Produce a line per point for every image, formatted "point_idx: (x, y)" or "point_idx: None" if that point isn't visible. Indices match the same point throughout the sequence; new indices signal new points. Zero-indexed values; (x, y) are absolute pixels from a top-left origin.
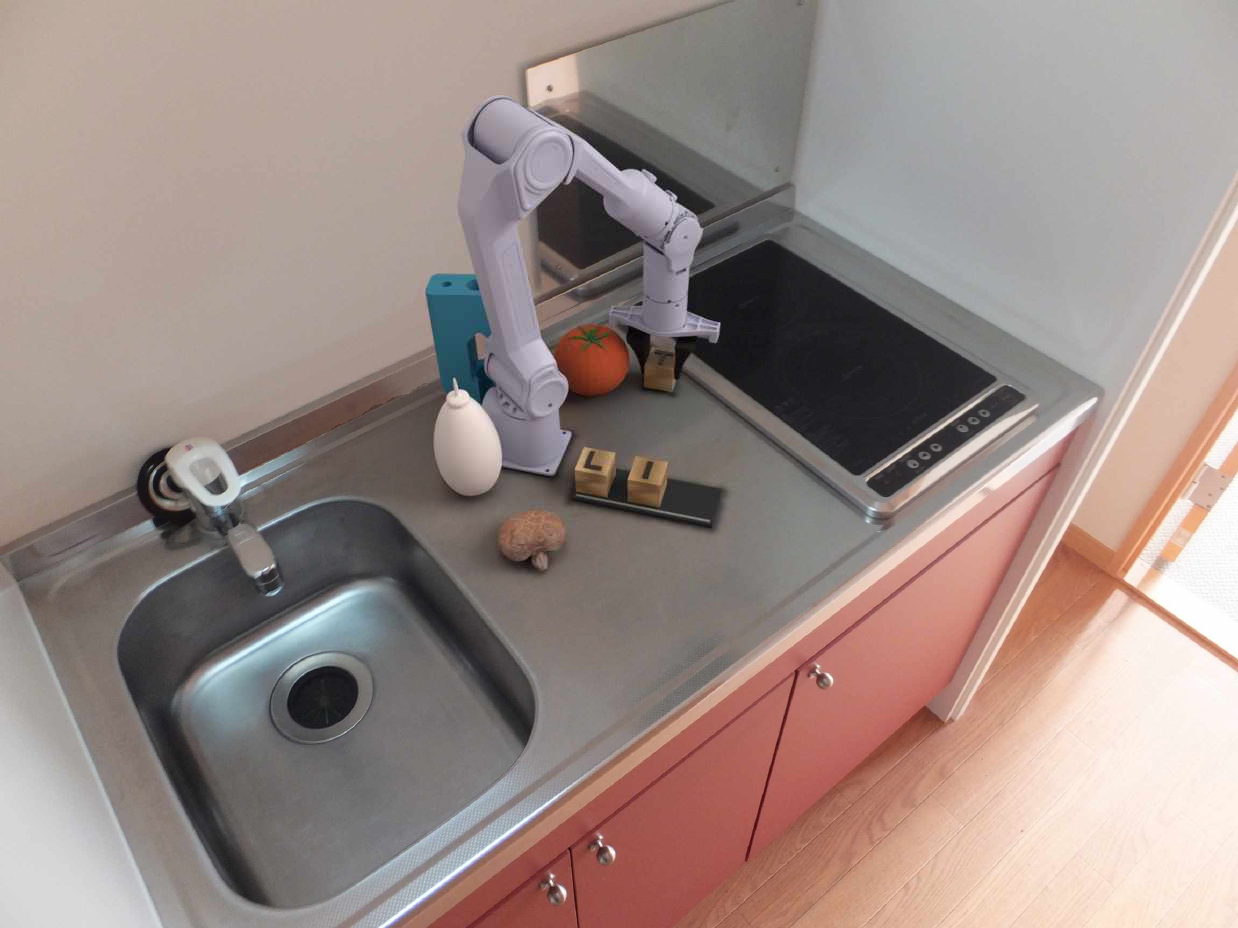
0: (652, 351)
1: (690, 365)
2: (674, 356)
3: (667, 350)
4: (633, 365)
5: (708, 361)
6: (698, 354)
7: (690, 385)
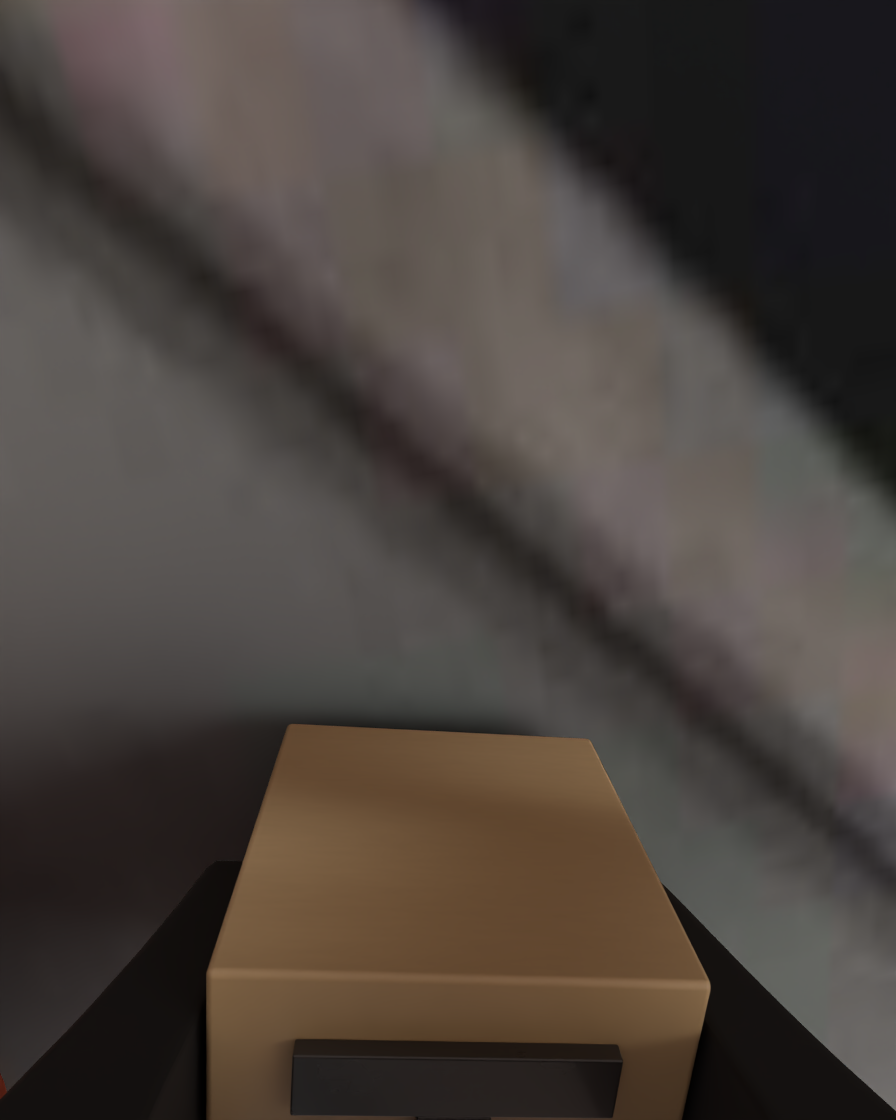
0: (251, 1074)
1: (694, 526)
2: (634, 1111)
3: (503, 1009)
4: (85, 635)
5: (889, 425)
6: (781, 316)
7: (703, 808)
